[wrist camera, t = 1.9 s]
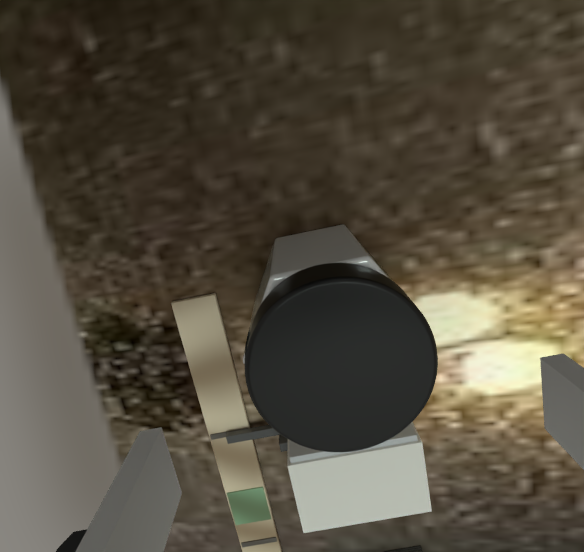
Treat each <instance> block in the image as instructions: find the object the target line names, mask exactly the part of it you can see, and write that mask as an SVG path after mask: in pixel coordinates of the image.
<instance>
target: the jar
mask: <svg viewBox="0 0 584 552" xmlns="http://www.w3.org/2000/svg"><path fill="white" fill-rule="evenodd" d="M243 363H244V364H245V377H246V383H247V387H248V391H249V394H250V397H251V399H252V401H253V403H254V405H255V407H256V409H257V410H258V412H259V413H260V415H261V416H262V417H263V419H264V420H265V421H266V422H267V423H268V424H269V425H270V426H271V427H272V428H273V429H274V430H275V431H276V432H278V433H279V434H281V435H282V436H283V437H285V438H287V439H289V440H290V441H292V442H294V443H296V444H299V445H301V446H304V447H307V448H310V449H314V450H319V451H324V452H352V451H358V450H363V449H367V448H370V447H373V446H376V445H378V444H381V443H383V442H385V441H387V440H389V439H390V438H392V437H394V436H395V435H397V434H398V433H400V432H401V431H402V430H404V429H405V428H406V427H407V426H408V425H409V424H410V423H411V422H412V421H413V420H414V419H415V418H416V417H417V416H418V415H419V413H420V412H421V411H422V409H423V408H424V406H425V404H426V403H427V401H428V399H429V397H430V395H431V393H432V390H433V387H434V384H435V380H436V375H437V367H438V356H437V348H436V343H435V339H434V336H433V333H432V331H431V328H430V326H429V324H428V322H427V320H426V319H425V317H424V316H423V314H422V313H421V312H420V310H419V309H418V308H417V307H416V305H415V304H414V303H413V302H412V301H411V300H410V298H409V297H408V296H407V295H406V294H405V292H404V291H403V290H402V289H401V288H400V287H399V286H398V285H397V284H396V283H395V282H394V281H393V280H392V279H391V278H390V277H389V275H388V274H387V273H386V272H385V271H384V269H383V268H382V267H381V266H380V265H379V264H378V262H377V261H376V260H375V259H374V258H373V257H372V255H371V254H370V253H369V252H368V251H367V250H366V249H365V247H364V246H363V245H362V244H361V243H360V242H359V240H358V239H357V238H356V237H355V236H354V235H353V233H352V232H351V231H350V230H349V229H348V228H347V226H345V225H338V226H333V227H328V228H323V229H318V230H314V231H309V232H304V233H299V234H294V235H289V236H284V237H279V238H276V239H275V241H274V244H273V247H272V250H271V253H270V256H269V259H268V262H267V266H266V269H265V272H264V275H263V278H262V281H261V284H260V287H259V290H258V293H257V296H256V299H255V304H254V309H253V313H252V318H251V323H250V327H249V332H248V336H247V341H246V346H245V351H244V356H243Z"/></svg>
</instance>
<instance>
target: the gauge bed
mask: <svg viewBox="0 0 584 552" xmlns="http://www.w3.org/2000/svg"><path fill="white" fill-rule="evenodd" d="M171 305H172V308H173V312H174V315H175V319H176V322H177V326H178V329H179V333H180V336H181V340H182V343H183V347H184V350H185V353H186V357H187V360H188V364H189V367H190V371H191V374H192V378H193V381H194V385H195V388H196V392H197V395H198V399H199V402H200V406H201V409H202V413H203V416H204V420H205V423H206V426H207V430H208V433H209V437H210V440H211V444H212V447H213V451H214V454H215V458H216V461H217V465H218V468H219V472H220V475H221V479H222V482H223V486H224V489H225V493H226V496H227V500H228V503H229V506H230V510H231V513H232V517H233V520H234V524H235V527H236V531H237V534H238V538H239V541H240V545H241V548H242V552H282V548H281V544H280V541H279V537H278V533H277V529H276V525H275V521H274V517H273V513H272V509H271V506H270V502H269V498H268V494H267V490H266V486H265V482H264V478H263V474H262V471H261V467H260V463H259V459H258V455H257V451H256V447H255V443H254V439H253V440H247V441H242V442H236V443H230V444H228V443H227V439H226V434H227V432H233V431H238V430H244V429H249V428H250V424H249V420H248V416H247V412H246V408H245V405H244V401H243V397H242V393H241V389H240V385H239V381H238V377H237V373H236V370H235V366H234V362H233V358H232V354H231V350H230V346H229V342H228V338H227V335H226V331H225V327H224V323H223V319H222V315H221V311H220V307H219V304H218V300H217V296H216V293H213V294H208V295H203V296H198V297H192V298H187V299H182V300H177V301H172V303H171Z"/></svg>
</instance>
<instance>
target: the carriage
mask: <svg viewBox="0 0 584 552" xmlns="http://www.w3.org/2000/svg"><path fill="white" fill-rule="evenodd" d="M275 435H279V445H280V449H281V452H282V451H288V470H289V474H290V478H291V482H292V487H293V491H294V495H295V499H296V503H297V508H298V512H299V516H300V520H301V524H302V529H303V533H307V532H313V531H319V530H325V529H331V528H337V527H343V526H348V525H354V524H360V523H366V522H372V521H378V520H384V519H390V518H395V517H401V516H407V515H413V514H419V513H425V512H431V511H432V510H431V502H430V495H429V488H428V481H427V474H426V467H425V460H424V452H423V445H422V441H421V439H420V437H419V435H418V432H417V430H416V428H415V426H414V424H413V422H411V423H410V424H409V425H408V426H407V427H406V428H405V429H404V430H402V431H401V432H400V433H398V434H397V435H395V436H394V437H392V438H390V439H389V440H387V441H385V442H383V443H381V444H378V445H376V446H373V447H370V448H367V449H363V450H358V451H352V452H324V451H319V450H314V449H310V448H307V447H304V446H301V445H299V444H296V443H294V442H292V441H290V440H289V439H287V438H285V437H283V436H282V435H281V434H279V433H278V432H276V431H275V430H274V429H273V428H272V427H271V426H270V425H266V426H260V427H255V428H249V429H244V430H238V431H233V432H227V434H226V439H227V443H228V444H230V443H236V442H242V441H247V440H253V439H258V438H264V437H269V436H275Z"/></svg>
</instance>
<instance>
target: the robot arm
mask: <svg viewBox="0 0 584 552" xmlns="http://www.w3.org/2000/svg"><path fill="white" fill-rule="evenodd" d="M540 360H541V376H542V392H543V409H544V425H545V429H546V430H547V431H548V433H549V434H550V435H551V436H552V437H553V438H554V439H555V440H556V441H557V442H558V443H559V444H560V445H561V446H562V447H563V448H564V449H565V450H566V451H567V453H568V454H569V455H570V456H571V457H572V458H573V459H574V460H575V461H576V462H577V463H578V464H579V465H580V466H581V467H582V468H583V469H584V368H583V367H582V366H580V365H579V364H577V363H576V362H574V361H573V360H572V359H570V358H569V357H567V356H566V355H565V354H558V355H553V356H547V357H542V358H540ZM181 494H182V492H181V488H180V485H179V482H178V479H177V476H176V472H175V469H174V466H173V463H172V460H171V456H170V453H169V450H168V447H167V444H166V440H165V437H164V434H163V431H162V428H156V429H150V430H145V431H140V433H139V434H138V436H137V438H136V440H135V442H134V444H133V446H132V447H131V449H130V451H129V453H128V455H127V457H126V459H125V460H124V462H123V464H122V466H121V468H120V470H119V472H118V473H117V475H116V477H115V479H114V481H113V483H112V485H111V486H110V488H109V490H108V492H107V494H106V496H105V498H104V499H103V501H102V503H101V505H100V507H99V509H98V511H97V512H96V514H95V516H94V518H93V520H92V522H91V524H90V526H89V528H88V529H87V530H81V531H76V532H73V533H72V534H71V535H70V536H69V537H68V538H67V540H66V541H64V542H63V544H62V545H61V546H60V547H59V548H58V549H57V551H56V552H163V551H164V548H165V545H166V542H167V539H168V536H169V532H170V529H171V526H172V523H173V520H174V516H175V513H176V510H177V507H178V504H179V501H180V497H181Z"/></svg>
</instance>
